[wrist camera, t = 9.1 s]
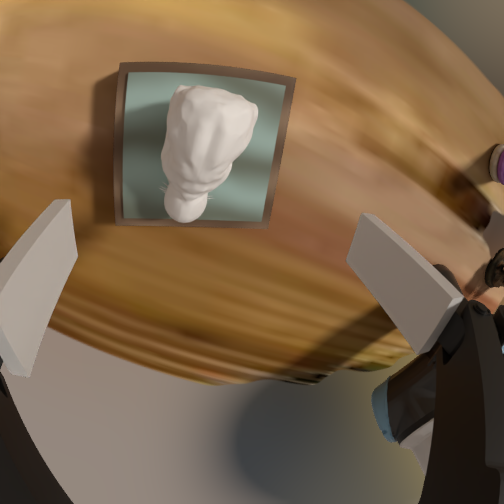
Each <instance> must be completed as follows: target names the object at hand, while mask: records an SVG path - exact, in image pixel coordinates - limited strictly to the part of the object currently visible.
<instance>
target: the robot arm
mask: <svg viewBox="0 0 504 504" xmlns="http://www.w3.org/2000/svg"><path fill="white" fill-rule="evenodd" d="M77 258H78V254H77V248H76V242H75V235H74V228H73V220H72V212H71V203H70V199H62V200H54V201H53V202H52V203H51V204H50V205H49V206H48V207H47V208H46V209H45V210H44V212H43V213H42V214H41V215H40V216H39V217H38V218H37V219H36V220H35V221H34V223H33V224H32V225H31V226H30V227H29V228H28V229H27V231H26V232H25V233H24V234H23V235H22V236H21V238H20V239H19V240H18V241H17V243H16V244H15V245H14V246H13V248H12V249H11V250H10V251H9V253H8V254H7V255H6V256H5V258H1V259H0V369H1V366H2V363H3V362H4V364H5V366H6V367H7V369H8V370H9V372H10V373H11V374H14V375H19V376H23V377H28V378H30V375H31V372H32V368H33V365H34V362H35V359H36V356H37V353H38V350H39V347H40V344H41V341H42V339H43V336H44V333H45V330H46V328H47V325H48V323H49V320H50V317H51V315H52V313H53V310H54V308H55V305H56V303H57V301H58V298H59V296H60V294H61V291H62V289H63V287H64V285H65V283H66V280H67V278H68V276H69V274H70V272H71V270H72V268H73V266H74V264H75V262H76V260H77ZM346 262H347V263H348V264H349V266H350V267H351V268H352V269H353V271H354V272H355V273H356V274H357V276H358V277H359V278H360V279H361V281H362V282H363V283H364V284H365V286H366V287H367V288H368V290H369V291H370V292H371V293H372V295H373V296H374V297H375V299H376V300H377V301H378V302H379V304H380V305H381V306H382V308H383V309H384V310H385V312H386V313H387V314H388V316H389V317H390V318H391V320H392V321H393V322H394V324H395V325H396V326H397V328H398V329H399V331H400V332H401V333H402V335H403V336H404V337H405V339H406V340H407V342H408V343H409V344H410V346H411V347H412V349H413V350H414V351H415V353H416V354H417V355H419V354H420V355H419V356H417V357H416V358H415V359H414V360H412V361H411V362H410V363H409V364H407V365H406V366H404V367H403V368H402V369H400V370H399V371H398V372H396V373H395V374H393V375H392V376H389V377H388V378H387V380H386V381H385V382H383V383H382V384H380V385H379V386H378V387H377V388H375V390H374V391H373V393H372V399H371V402H372V408H373V412H374V415H375V418H376V421H377V424H378V426H379V428H380V430H382V433H383V435H384V437H385V438H386V439H387V441H389V442H396V441H398V443H399V445H400V447H403V448H407V449H411V450H412V451H413V453H414V455H415V457H416V459H417V461H418V463H419V465H420V467H421V469H422V471H423V473H424V475H425V481H424V486H423V491H422V495H421V498H420V501H419V503H418V504H504V305H500V306H499V307H498V309H497V311H496V312H495V314H491V312H490V310H489V309H488V308H487V307H486V306H485V305H484V304H482V303H480V302H478V301H476V300H470V301H468V300H467V299H466V298H465V297H464V296H463V293H462V291H461V289H460V287H459V285H458V283H457V281H456V279H455V277H454V275H453V273H452V272H451V271H450V270H449V269H448V268H447V267H446V266H444V265H434V266H432V265H431V264H430V263H429V262H428V261H427V260H426V259H425V258H424V257H423V256H422V255H420V254H419V253H418V252H417V251H416V250H415V249H414V248H413V247H412V246H410V245H409V244H408V243H407V242H406V241H405V240H404V239H402V238H401V237H400V236H399V235H398V234H397V233H395V232H394V231H393V230H392V229H391V228H390V227H388V226H387V225H386V224H385V223H384V222H382V221H381V220H380V219H379V218H377V217H376V216H375V215H374V214H368V213H361V216H360V219H359V222H358V225H357V228H356V231H355V235H354V238H353V241H352V244H351V247H350V250H349V252H348V255H347V258H346ZM0 504H74V503H73V502H72V501H71V500H70V498H69V497H68V496H67V494H66V493H65V492H64V490H63V489H62V487H61V486H60V485H59V483H58V482H57V480H56V479H55V477H54V476H53V474H52V473H51V471H50V470H49V468H48V466H47V465H46V463H45V462H44V460H43V458H42V457H41V455H40V453H39V451H38V450H37V448H36V446H35V444H34V442H33V441H32V439H31V437H30V435H29V433H28V431H27V429H26V427H25V425H24V423H23V421H22V419H21V417H20V415H19V413H18V411H17V408H16V406H15V404H14V402H13V399H12V397H11V394H10V392H9V389H8V387H7V384H6V382H5V379H4V377H3V375H2V374H1V372H0Z"/></svg>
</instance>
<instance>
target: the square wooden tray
mask: <svg viewBox="0 0 504 504" xmlns="http://www.w3.org/2000/svg"><path fill="white" fill-rule="evenodd" d="M295 82H296V78H293V77H289V76H284V75H279V74H274V73H268V72H263V71H257V70H250V69H243V68H236V67H228V66H219V65H209V64H196V63H179V62H124V63H120V66H119V75H118V84H117V94H116V107H115V123H114V158H113V170H114V206H115V223H116V225H122V226H185V227H223V228H253V229H268V226H269V221H270V216H271V211H272V206H273V200H274V195H275V190H276V185H277V180H278V174H279V169H280V164H281V158H282V153H283V148H284V142H285V137H286V132H287V126H288V121H289V115H290V110H291V104H292V99H293V93H294V88H295ZM179 85H184V86H196V85H200V86H205V87H211V88H219V89H223V90H226V91H228V92H230V93H233V94H237V95H241V96H243V97H244V98H245V99H246V100H247V101H249V102H251V103H254V104H256V105H257V108H258V118H257V121H256V123H255V126H254V128H253V134H252V138H251V140H250V142H249V144H248V145H247V147H246V149H245V150H244V151H243V152H242V153H241V154H240V156H239V157H237V158H236V159H235V160H234V161H233V162H232V168H231V171H230V173H229V175H228V177H227V179H226V180H225V181H224V182H223V183H222V184H220V185H219V186H218V187H217V188H215V189H214V190H212V191H211V192H208V196H211V197H207V198H213V199H207V204H206V207H205V210H204V212H203V213H202V214H201V216H200V217H198V218H197V219H196V220H194V221H192V222H188V223H181V222H177V221H175V220H174V219H172V218H171V217H170V216H169V215H168V213H167V211H166V209H165V205H164V197H165V193H164V192H166V191H163V190H161V189H164V188H167V186H166V185H165V184H167V185H169V182H168V179H167V177H166V175H165V173H164V171H163V168H162V160H161V152H162V149H163V146H164V142H165V138H166V132H167V115H168V111H169V104H170V100H171V97H172V96H173V94H174V92H175V90H176V89H177V87H178V86H179ZM163 182H164V183H165V184H164V183H163ZM158 187H159V188H161V189H159V188H158ZM162 187H164V188H162ZM164 190H166V189H164ZM162 191H163V192H162Z"/></svg>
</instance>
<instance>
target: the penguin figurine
mask: <svg viewBox="0 0 504 504" xmlns="http://www.w3.org/2000/svg"><path fill="white" fill-rule="evenodd" d="M257 118H258V108H257V105H256V104H254V103H251V102H249V101H247V100H246V99H245V98H244V97H243V96H241V95H237V94H233V93H230V92H228V91H226V90H223V89H219V88H211V87H205V86H200V85H196V86H184V85H179V86H178V87H177V89H176V90H175V92H174V94H173V96H172V97H171V100H170V104H169V111H168V115H167V132H166V138H165V142H164V146H163V149H162V152H161V160H162V168H163V171H164V173H165V175H166V177H167V179H168V182H169V185H167V184H165V183H164V182H163V183H164V184H165V185H166V186H167V188H164V187H162V188H164V189H166V190H164V189H161V188H159V187H158V188H159V189H161V190H163V191H166V192H164V193H165V197H164V205H165V209H166V211H167V213H168V215H169V216H170V217H171V218H172V219H174V220H175V221H177V222H181V223H188V222H192V221H194V220H196V219H197V218H198V217H200V216H201V214H202V213H203V212H204V210H205V207H206V204H207V199H213V198H207V197H211V196H208V192H211V191H212V190H214V189H215V188H217V187H218V186H219V185H220V184H222V183H223V182H224V181H225V180H226V179H227V177H228V175H229V173H230V171H231V168H232V162H233V161H234V160H235V159H236V158H237V157H239V156H240V154H241V153H242V152H243V151H244V150H245V149H246V147H247V145H248V144H249V142H250V140H251V138H252V134H253V128H254V126H255V123H256V121H257ZM163 191H162V192H163Z"/></svg>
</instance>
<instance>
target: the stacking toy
mask: <svg viewBox="0 0 504 504" xmlns="http://www.w3.org/2000/svg"><path fill="white" fill-rule="evenodd" d="M489 169H490V175H491V177H492V179H493V180H494V181H495V182H497V183H501V184H503V185H504V144H500V145H498V146H497V147H496V148H495V149H494V151H493V153H492V155H491V159H490V166H489Z"/></svg>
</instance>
